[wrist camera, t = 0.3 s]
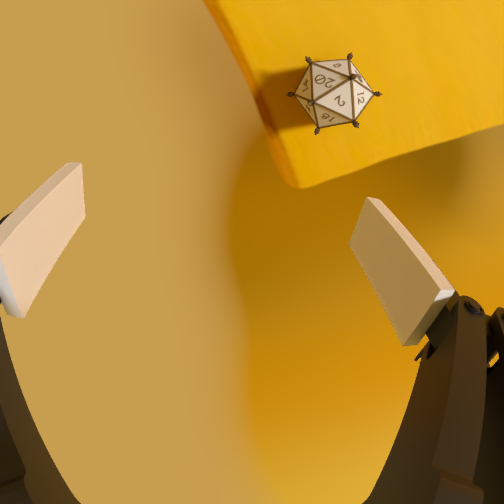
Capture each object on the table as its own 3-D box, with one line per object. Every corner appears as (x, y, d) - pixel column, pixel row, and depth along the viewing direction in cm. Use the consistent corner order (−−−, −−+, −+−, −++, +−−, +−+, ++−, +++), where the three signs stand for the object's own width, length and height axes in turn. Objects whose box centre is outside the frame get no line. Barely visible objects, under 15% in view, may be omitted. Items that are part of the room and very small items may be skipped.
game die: (309, 87, 33) (257, 108, 29) (340, 34, 26) (287, 40, 21) (365, 134, 33) (323, 166, 28) (405, 84, 25) (371, 103, 20)
